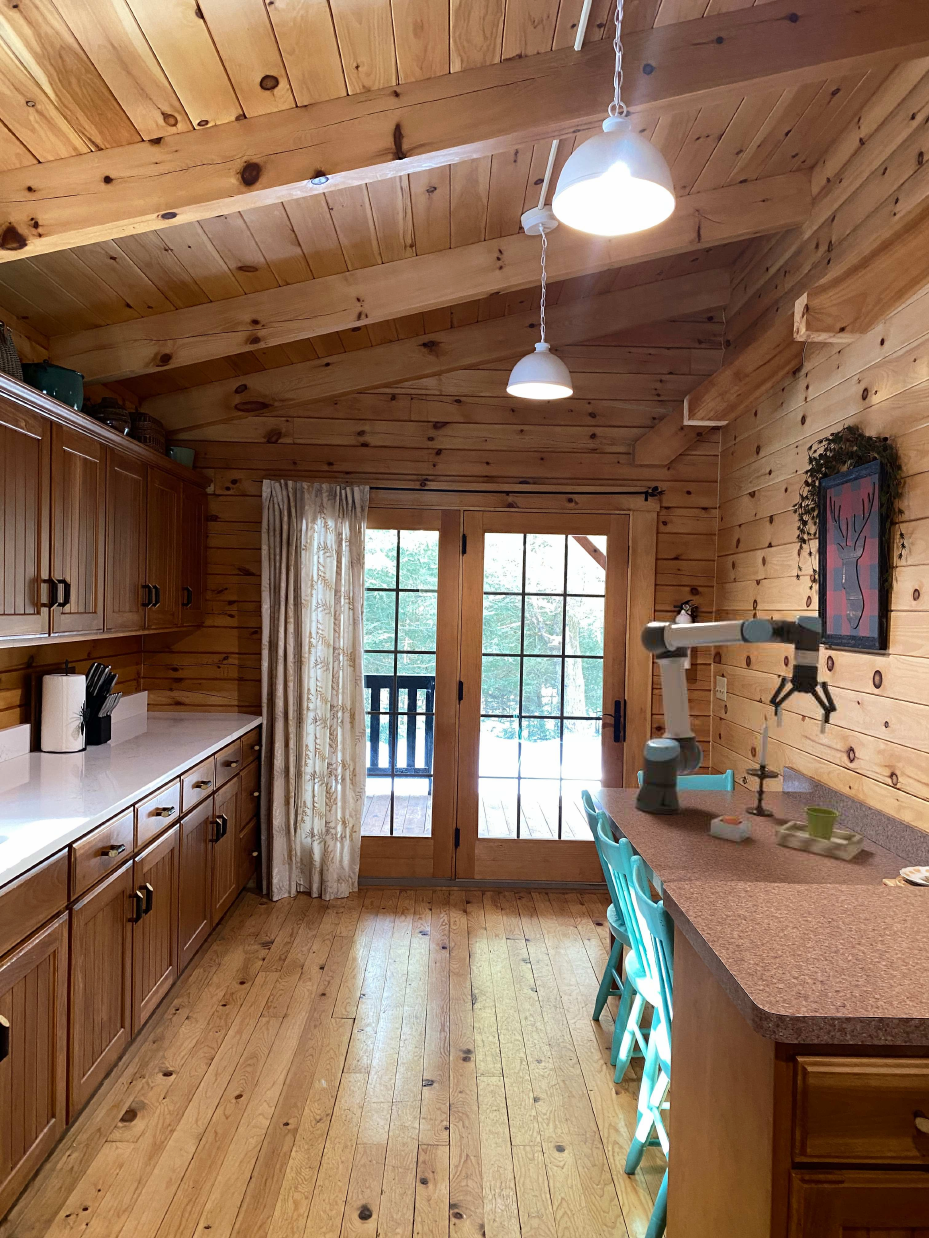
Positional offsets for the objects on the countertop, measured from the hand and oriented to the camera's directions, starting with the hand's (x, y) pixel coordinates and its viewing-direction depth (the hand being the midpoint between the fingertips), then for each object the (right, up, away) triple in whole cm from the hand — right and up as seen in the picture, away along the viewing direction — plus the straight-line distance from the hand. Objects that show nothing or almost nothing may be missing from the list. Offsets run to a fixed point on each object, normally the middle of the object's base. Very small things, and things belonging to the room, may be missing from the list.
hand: (800, 730), depth 269 cm
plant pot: (0, -31, -15) cm, 35 cm away
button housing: (-26, -31, -10) cm, 42 cm away
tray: (0, -33, -15) cm, 36 cm away
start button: (-26, -29, -10) cm, 40 cm away
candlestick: (-5, -32, +23) cm, 40 cm away
